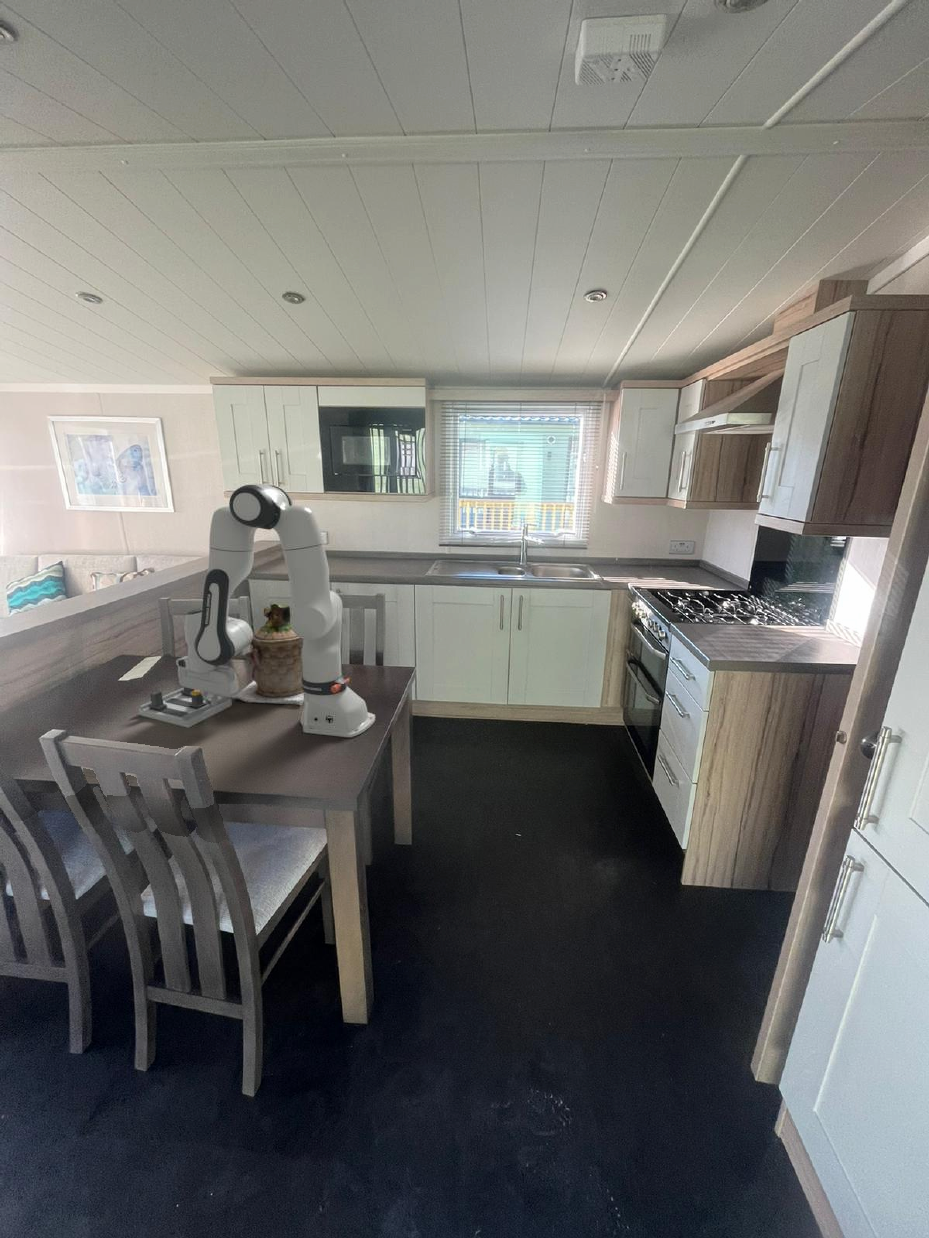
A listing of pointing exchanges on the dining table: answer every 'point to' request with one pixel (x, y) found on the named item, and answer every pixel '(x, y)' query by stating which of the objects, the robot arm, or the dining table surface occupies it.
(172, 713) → the panel
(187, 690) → the breaker right
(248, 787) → the dining table surface
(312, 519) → the robot arm
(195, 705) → the breaker middle
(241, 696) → the cookie jar
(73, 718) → the dining table surface
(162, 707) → the breaker left
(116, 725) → the dining table surface
